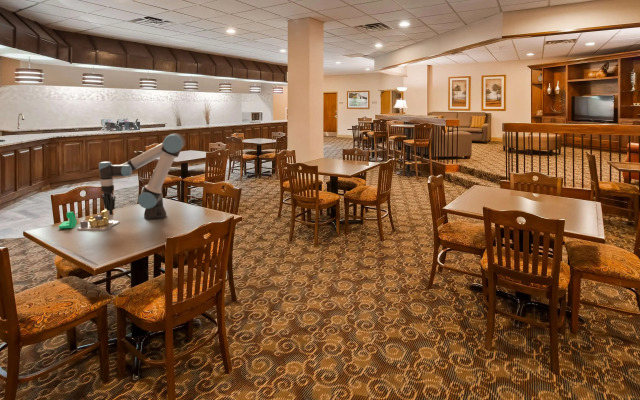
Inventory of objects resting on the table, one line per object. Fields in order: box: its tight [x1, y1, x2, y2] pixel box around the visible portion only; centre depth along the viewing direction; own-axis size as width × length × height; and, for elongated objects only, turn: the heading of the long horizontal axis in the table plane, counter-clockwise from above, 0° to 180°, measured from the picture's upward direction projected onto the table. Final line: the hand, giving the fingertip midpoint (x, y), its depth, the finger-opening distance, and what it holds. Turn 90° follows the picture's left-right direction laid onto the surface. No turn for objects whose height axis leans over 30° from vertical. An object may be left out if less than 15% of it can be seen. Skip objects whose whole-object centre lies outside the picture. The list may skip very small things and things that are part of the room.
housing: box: [77, 214, 120, 231], centre depth 266 cm, size 19×18×7 cm
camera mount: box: [58, 211, 78, 229], centre depth 264 cm, size 12×8×10 cm, turn 17°
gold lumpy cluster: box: [88, 209, 109, 226], centre depth 268 cm, size 16×11×7 cm
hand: (110, 219), depth 273 cm, fingers closed
